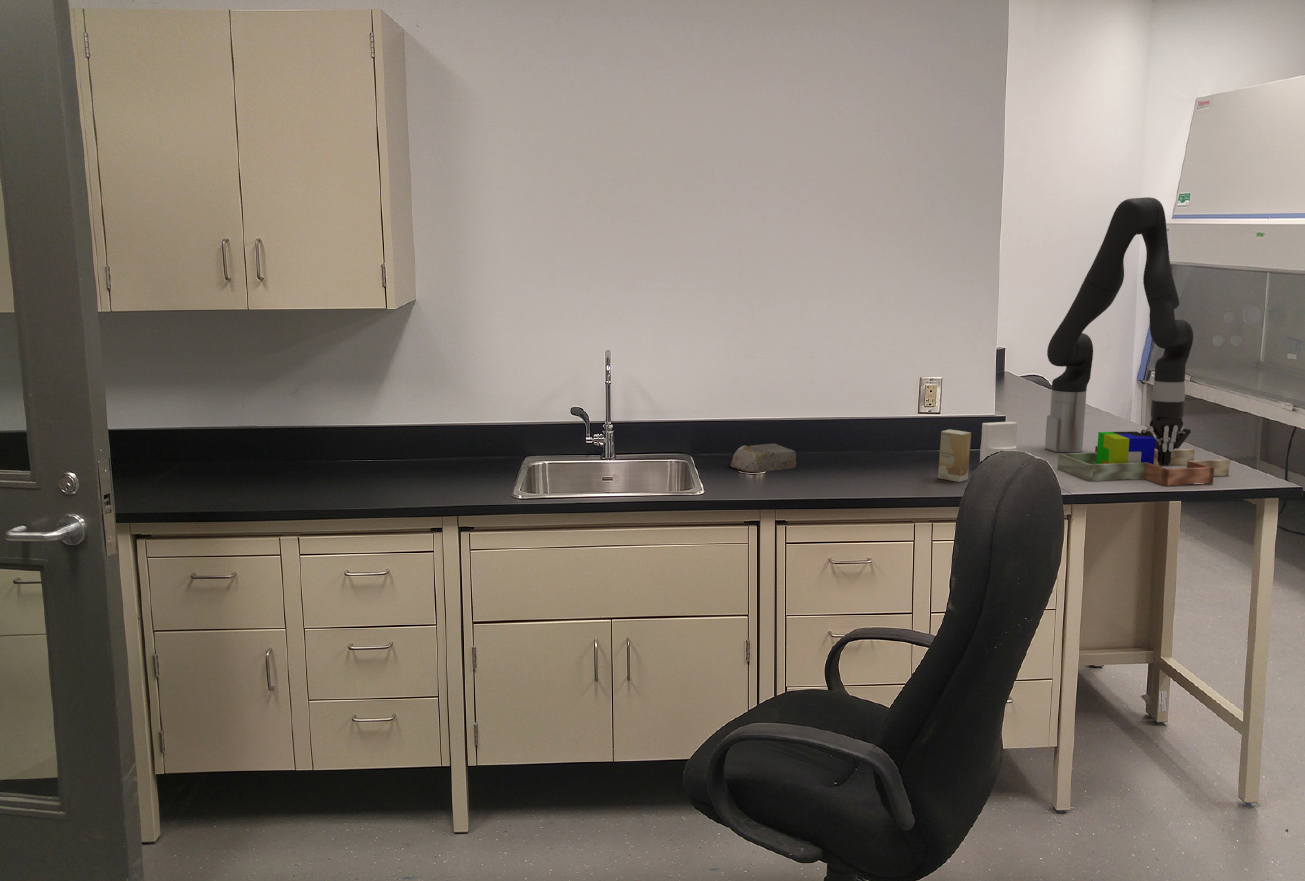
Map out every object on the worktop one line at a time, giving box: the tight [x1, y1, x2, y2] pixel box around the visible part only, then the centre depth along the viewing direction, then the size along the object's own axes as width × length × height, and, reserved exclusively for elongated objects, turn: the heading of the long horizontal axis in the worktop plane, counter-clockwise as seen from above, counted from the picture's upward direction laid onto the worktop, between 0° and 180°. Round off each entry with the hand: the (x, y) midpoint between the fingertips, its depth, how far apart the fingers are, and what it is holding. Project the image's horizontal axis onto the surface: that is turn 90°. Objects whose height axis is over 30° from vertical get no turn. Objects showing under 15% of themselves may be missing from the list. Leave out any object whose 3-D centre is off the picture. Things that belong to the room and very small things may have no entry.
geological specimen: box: [729, 443, 797, 474], centre depth 285 cm, size 11×6×15 cm
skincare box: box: [937, 429, 972, 483], centre depth 268 cm, size 6×4×12 cm
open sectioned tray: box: [1057, 445, 1231, 487], centre depth 276 cm, size 38×31×4 cm
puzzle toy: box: [1096, 431, 1156, 465], centre depth 274 cm, size 10×10×10 cm
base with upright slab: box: [979, 421, 1018, 463], centre depth 281 cm, size 9×9×12 cm
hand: (1163, 465), depth 276 cm, fingers closed
